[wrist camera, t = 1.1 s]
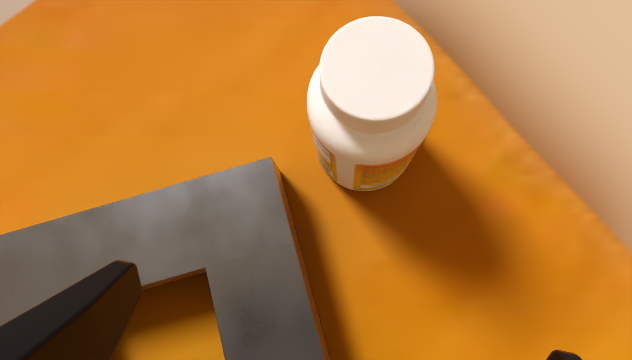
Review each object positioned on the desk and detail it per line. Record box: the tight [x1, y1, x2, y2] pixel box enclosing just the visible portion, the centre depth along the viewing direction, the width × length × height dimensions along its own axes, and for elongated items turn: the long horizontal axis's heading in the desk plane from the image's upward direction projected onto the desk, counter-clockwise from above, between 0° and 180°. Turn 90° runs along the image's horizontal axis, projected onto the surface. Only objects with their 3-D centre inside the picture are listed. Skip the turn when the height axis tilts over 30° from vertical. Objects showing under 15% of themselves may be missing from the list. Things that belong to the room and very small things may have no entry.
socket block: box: [0, 157, 331, 360], centre depth 20 cm, size 16×16×3 cm
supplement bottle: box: [307, 16, 437, 191], centre depth 19 cm, size 5×5×10 cm
